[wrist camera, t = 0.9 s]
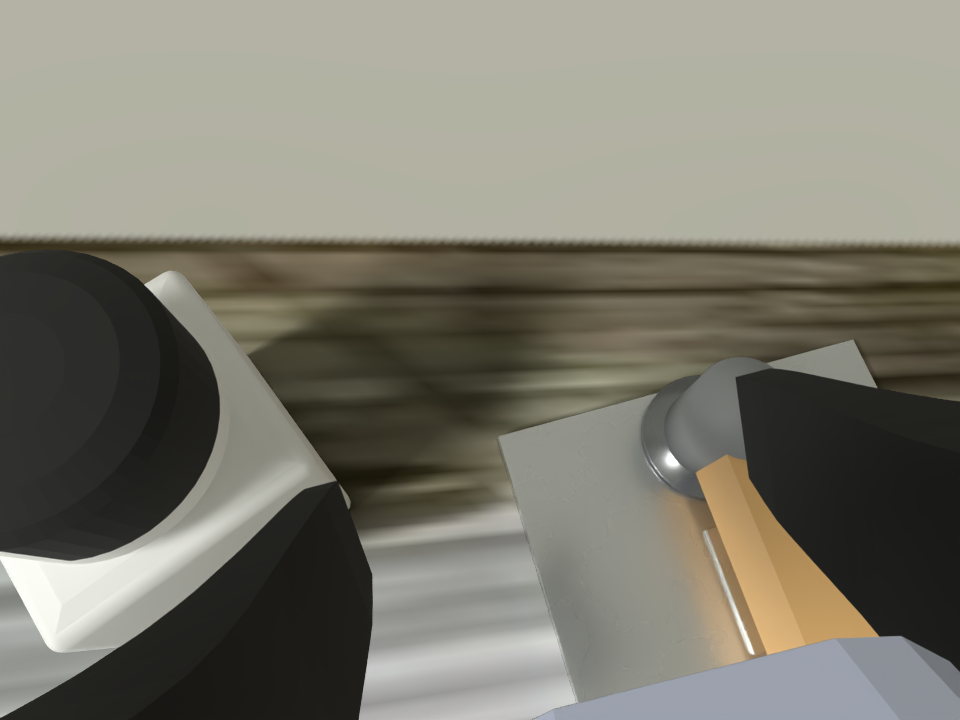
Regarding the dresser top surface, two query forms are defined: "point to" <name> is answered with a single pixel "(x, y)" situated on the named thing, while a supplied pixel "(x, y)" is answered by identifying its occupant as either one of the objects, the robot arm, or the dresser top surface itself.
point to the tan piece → (754, 519)
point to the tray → (636, 540)
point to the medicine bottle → (128, 446)
